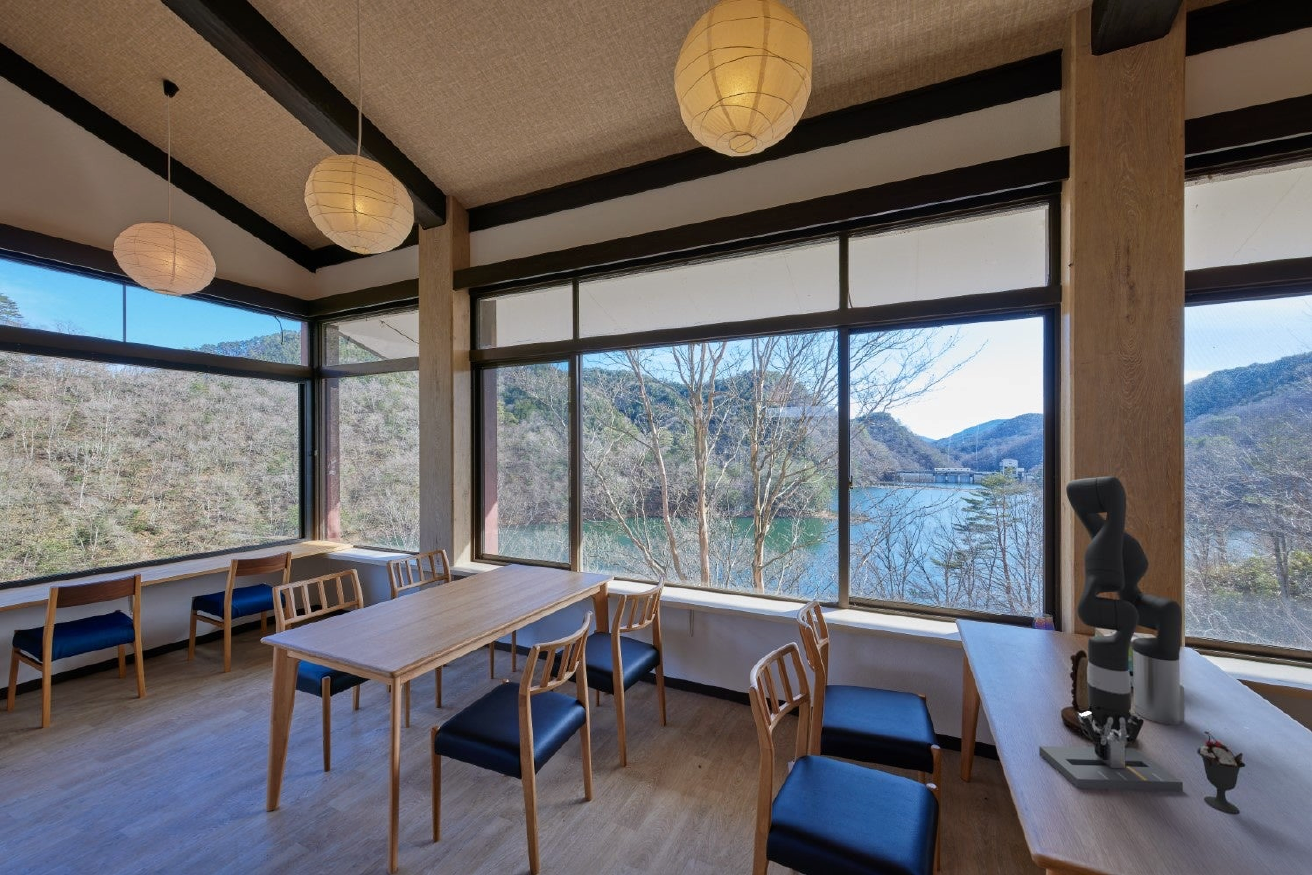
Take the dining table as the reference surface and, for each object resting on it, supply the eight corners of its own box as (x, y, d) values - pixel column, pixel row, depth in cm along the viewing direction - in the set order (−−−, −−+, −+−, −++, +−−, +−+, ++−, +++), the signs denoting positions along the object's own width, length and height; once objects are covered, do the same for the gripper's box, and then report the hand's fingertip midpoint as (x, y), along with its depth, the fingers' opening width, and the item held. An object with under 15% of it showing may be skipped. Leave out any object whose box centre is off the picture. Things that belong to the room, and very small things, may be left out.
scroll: (1049, 722, 136) (1047, 649, 136) (1080, 710, 142) (1079, 640, 142) (1116, 753, 122) (1114, 672, 123) (1147, 738, 128) (1146, 661, 128)
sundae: (1188, 795, 108) (1187, 726, 108) (1216, 793, 108) (1215, 724, 109) (1225, 818, 101) (1224, 744, 101) (1255, 815, 102) (1253, 742, 102)
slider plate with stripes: (1134, 756, 121) (1133, 747, 121) (1182, 791, 109) (1182, 781, 109) (1039, 754, 123) (1039, 745, 123) (1077, 787, 111) (1077, 778, 111)
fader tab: (1109, 761, 118) (1108, 730, 118) (1125, 774, 114) (1124, 741, 114) (1095, 761, 118) (1095, 729, 118) (1111, 773, 114) (1110, 740, 114)
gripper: (1126, 677, 119) (1127, 749, 119) (1064, 675, 120) (1066, 747, 120) (1155, 692, 112) (1157, 770, 112) (1089, 691, 113) (1091, 768, 113)
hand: (1110, 758), depth 116 cm, fingers closed on fader tab, 3 cm apart
